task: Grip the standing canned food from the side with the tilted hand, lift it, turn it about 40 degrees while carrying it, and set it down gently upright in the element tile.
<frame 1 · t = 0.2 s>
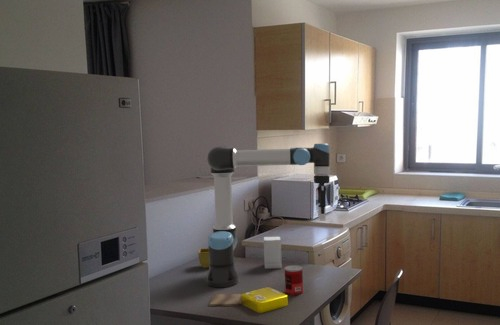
hand: (321, 218, 235), 27 cm above the counter, tool pointing down, fingers open, 13 cm apart
canned food: (294, 292, 211), on the counter
supplement box: (273, 266, 253), on the counter
walnut trivet: (225, 300, 203), on the counter
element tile: (264, 305, 198), on the counter
flower pot: (207, 267, 257), on the counter
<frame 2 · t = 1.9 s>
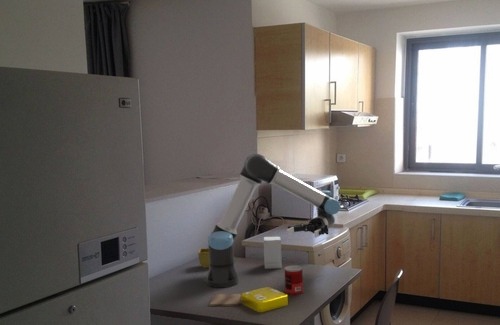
hand: (301, 233, 218), 24 cm above the counter, tool horizontal, fingers open, 13 cm apart
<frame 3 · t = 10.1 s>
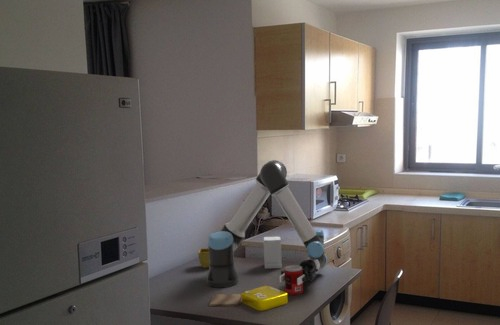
hand: (289, 280, 206), 7 cm above the counter, tool horizontal, fingers closed on canned food, 8 cm apart
canned food: (294, 292, 211), on the counter, touching gripper
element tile: (264, 303, 200), on the counter
everything else where it was.
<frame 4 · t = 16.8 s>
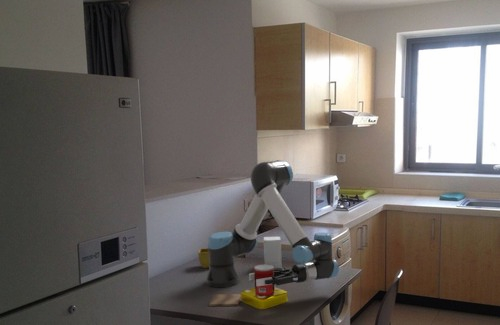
hand: (253, 280, 196), 11 cm above the counter, tool horizontal, fingers closed on canned food, 8 cm apart
canned food: (264, 293, 198), point 4 cm above the counter, touching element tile, gripper
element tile: (264, 302, 201), on the counter, touching canned food
everything else where it was.
when the fingers open (10 cm above the counter, at t = 17.7 s): canned food moves 1 cm, resting on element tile.
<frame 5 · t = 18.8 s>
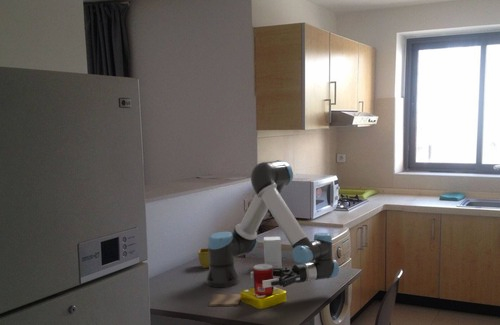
hand: (256, 279, 196), 11 cm above the counter, tool horizontal, fingers open, 13 cm apart
canned food: (264, 292, 199), point 4 cm above the counter, touching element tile
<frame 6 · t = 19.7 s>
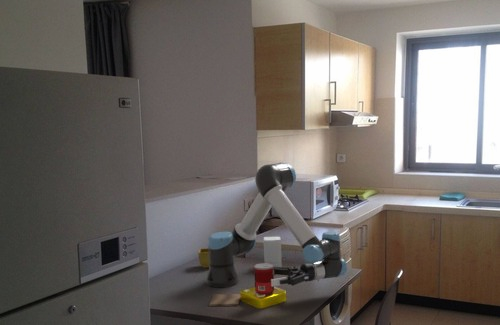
hand: (265, 278, 197), 11 cm above the counter, tool horizontal, fingers open, 13 cm apart
canned food: (264, 291, 200), point 4 cm above the counter, touching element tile, gripper
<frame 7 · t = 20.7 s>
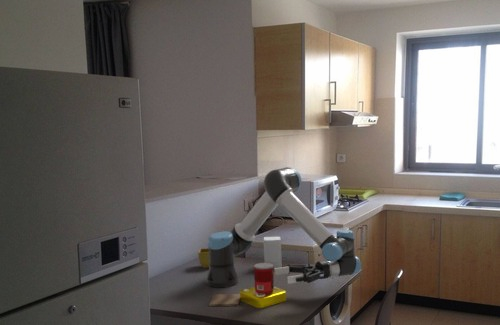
hand: (281, 275, 199), 11 cm above the counter, tool horizontal, fingers open, 13 cm apart
canned food: (264, 291, 200), point 4 cm above the counter
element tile: (263, 301, 203), on the counter
everything else where it was.
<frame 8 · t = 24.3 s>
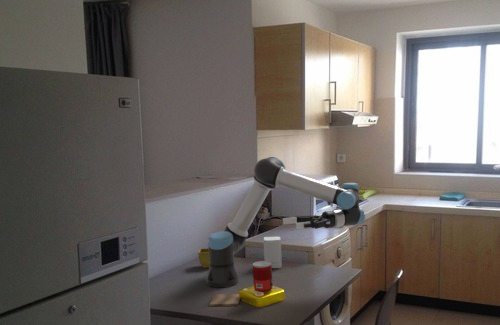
hand: (289, 223, 211), 30 cm above the counter, tool horizontal, fingers open, 13 cm apart
canned food: (263, 289, 203), point 4 cm above the counter, touching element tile
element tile: (261, 300, 204), on the counter, touching canned food
everything else where it was.
at the end: canned food 1.0 cm from the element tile (horizontally); canned food tilted 2°; the gripper is holding nothing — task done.
